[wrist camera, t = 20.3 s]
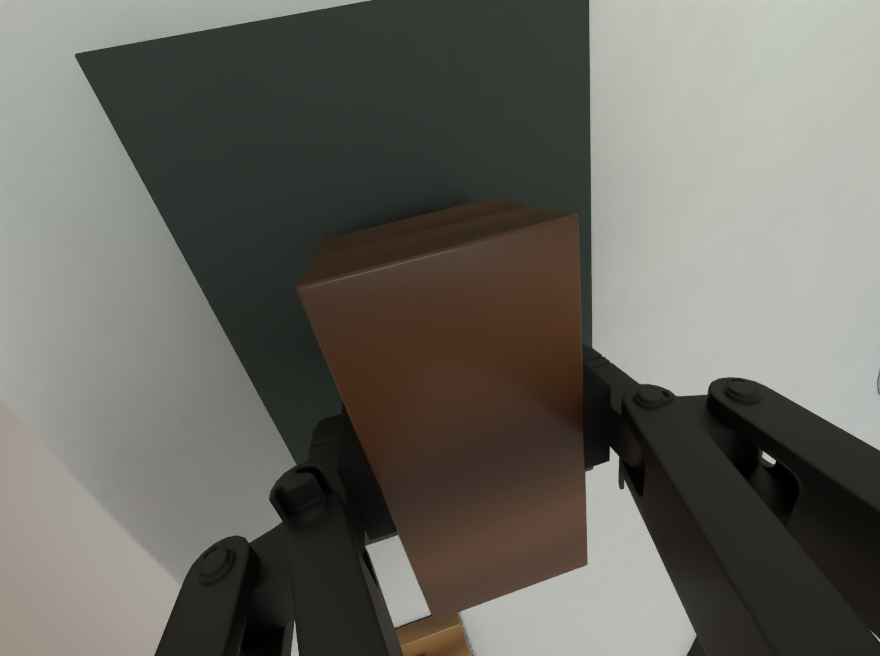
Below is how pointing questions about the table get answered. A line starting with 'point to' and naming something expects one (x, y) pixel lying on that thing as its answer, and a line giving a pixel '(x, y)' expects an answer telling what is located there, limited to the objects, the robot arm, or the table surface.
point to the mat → (345, 150)
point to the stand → (434, 637)
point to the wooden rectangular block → (464, 388)
